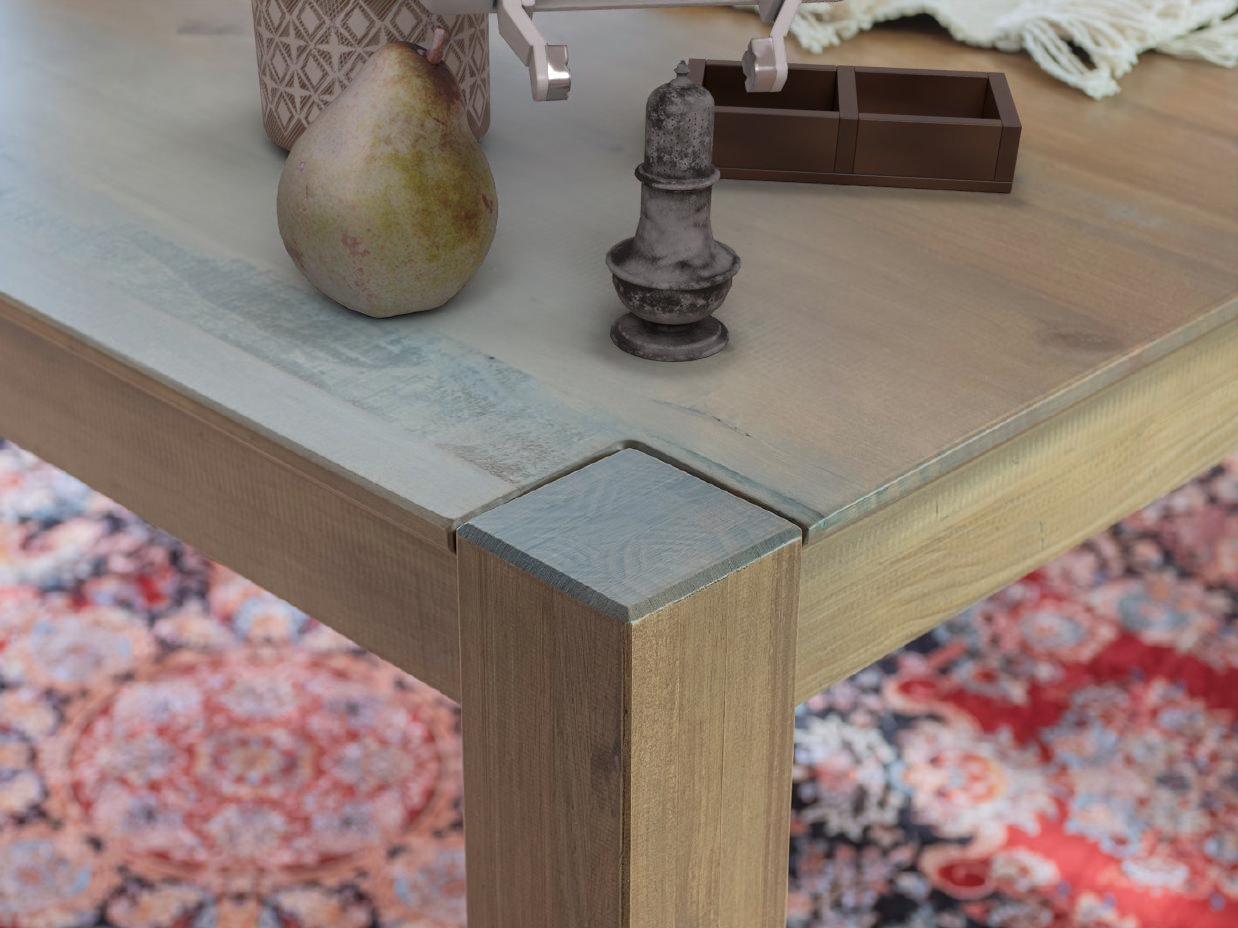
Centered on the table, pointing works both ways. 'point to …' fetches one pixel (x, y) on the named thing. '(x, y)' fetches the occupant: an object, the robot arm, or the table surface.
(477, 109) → the planter
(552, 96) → the robot arm
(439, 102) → the fruit
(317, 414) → the table surface
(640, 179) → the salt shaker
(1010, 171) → the rack
